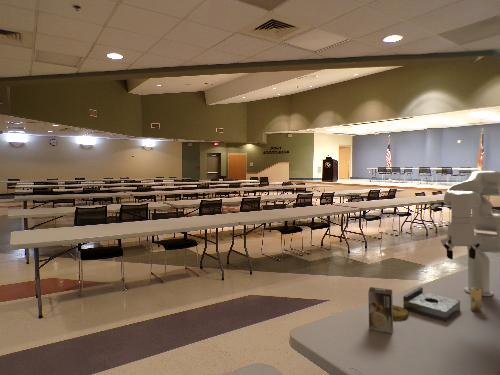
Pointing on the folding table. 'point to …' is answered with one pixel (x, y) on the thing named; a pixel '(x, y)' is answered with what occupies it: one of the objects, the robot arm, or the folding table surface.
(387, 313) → the coffee box
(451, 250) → the robot arm
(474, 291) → the brass cylinder
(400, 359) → the folding table surface
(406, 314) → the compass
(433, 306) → the jig
